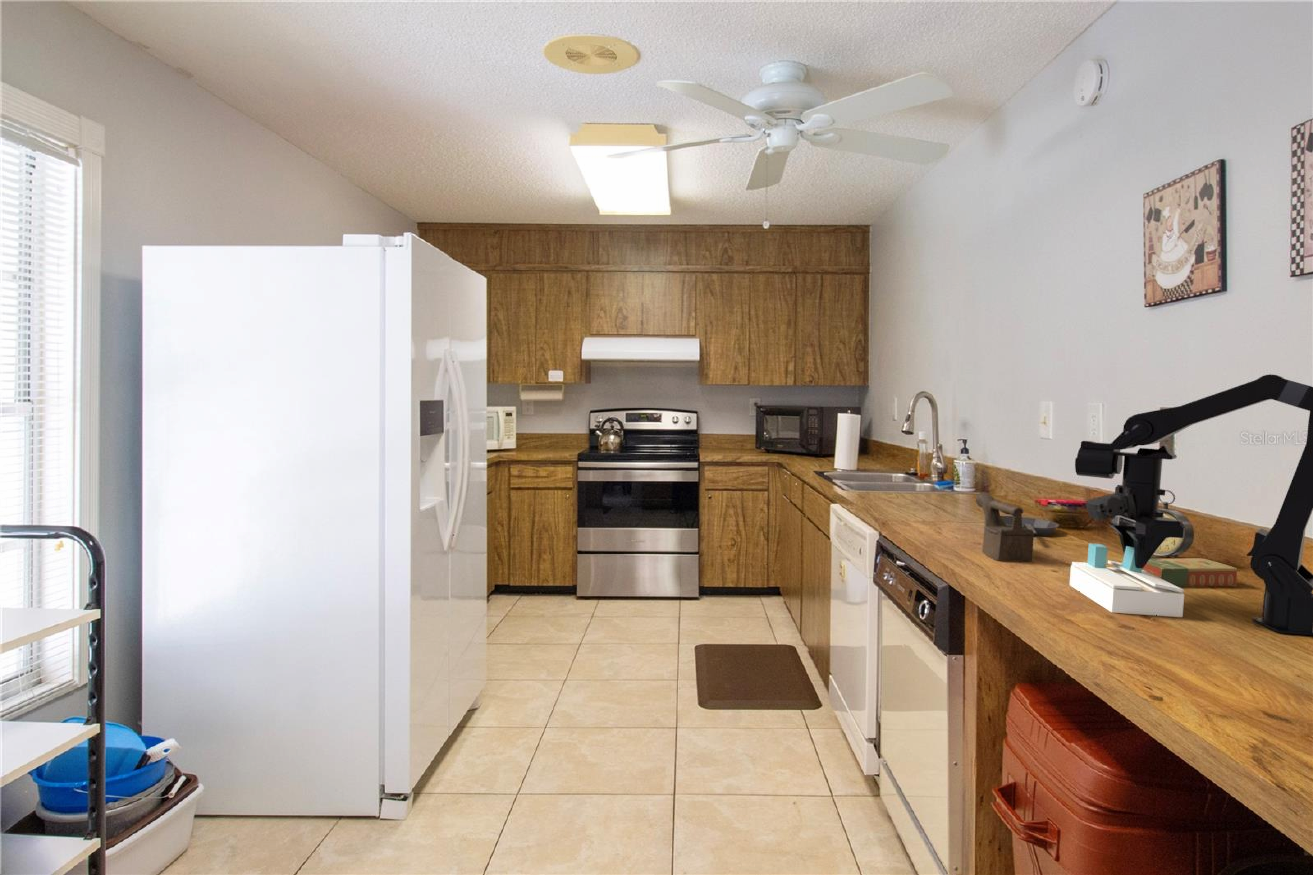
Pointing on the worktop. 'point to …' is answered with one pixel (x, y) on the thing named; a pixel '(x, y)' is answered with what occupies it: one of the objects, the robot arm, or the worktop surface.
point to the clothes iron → (1004, 531)
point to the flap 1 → (1103, 569)
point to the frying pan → (1033, 525)
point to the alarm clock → (1172, 544)
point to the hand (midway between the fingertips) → (1134, 565)
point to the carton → (1192, 571)
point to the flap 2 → (1141, 571)
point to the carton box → (1128, 595)
